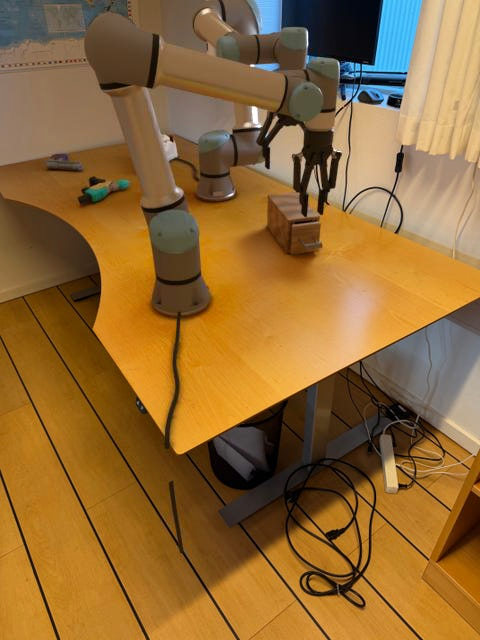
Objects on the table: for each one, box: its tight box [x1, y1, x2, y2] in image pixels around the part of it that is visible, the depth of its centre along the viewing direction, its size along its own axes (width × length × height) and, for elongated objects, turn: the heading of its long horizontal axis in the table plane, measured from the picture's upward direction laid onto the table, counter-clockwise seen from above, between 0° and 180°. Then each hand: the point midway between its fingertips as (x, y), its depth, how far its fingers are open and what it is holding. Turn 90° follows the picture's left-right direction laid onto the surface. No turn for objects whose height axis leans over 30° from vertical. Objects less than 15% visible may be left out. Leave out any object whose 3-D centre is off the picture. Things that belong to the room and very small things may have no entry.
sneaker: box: [161, 133, 179, 162], centre depth 214 cm, size 10×29×12 cm, turn 163°
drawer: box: [289, 220, 323, 255], centre depth 148 cm, size 26×9×9 cm, turn 15°
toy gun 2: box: [77, 175, 130, 205], centre depth 186 cm, size 4×26×15 cm
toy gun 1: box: [44, 152, 84, 171], centre depth 216 cm, size 4×19×15 cm
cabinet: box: [266, 191, 321, 254], centre depth 153 cm, size 20×10×11 cm, turn 15°
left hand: (312, 213), depth 134 cm, fingers open, 4 cm apart
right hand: (288, 166), depth 147 cm, fingers open, 13 cm apart
